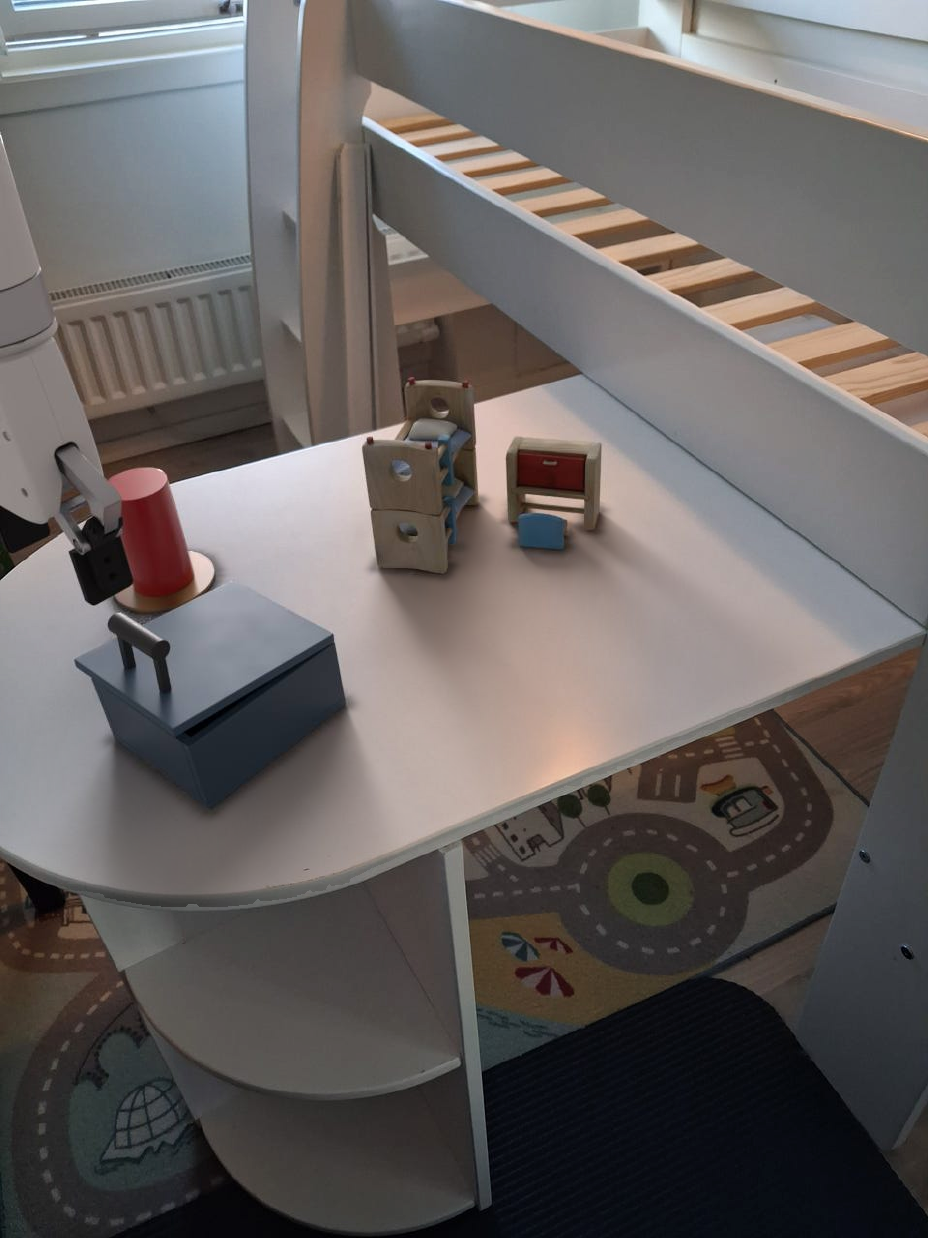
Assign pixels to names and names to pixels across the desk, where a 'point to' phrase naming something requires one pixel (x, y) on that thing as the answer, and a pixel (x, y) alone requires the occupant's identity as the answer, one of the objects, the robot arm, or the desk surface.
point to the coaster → (193, 590)
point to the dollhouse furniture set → (465, 480)
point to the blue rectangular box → (234, 729)
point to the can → (152, 533)
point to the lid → (201, 654)
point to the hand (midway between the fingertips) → (68, 567)
